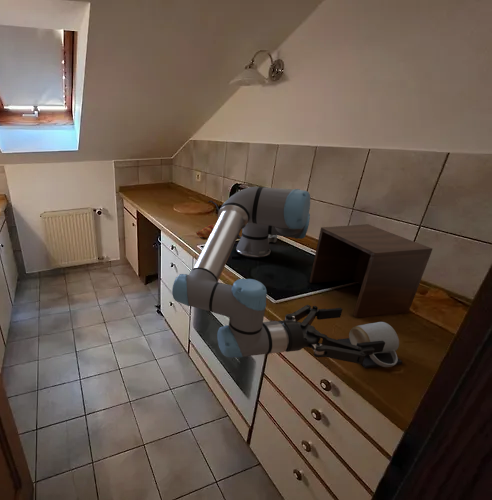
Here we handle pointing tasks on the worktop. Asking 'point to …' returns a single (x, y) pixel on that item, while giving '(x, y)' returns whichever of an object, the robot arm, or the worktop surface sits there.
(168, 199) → the worktop surface
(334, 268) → the cupboard
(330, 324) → the worktop surface
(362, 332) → the ceramic mug
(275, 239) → the egg carton
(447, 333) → the worktop surface
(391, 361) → the mat
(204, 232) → the croissant
